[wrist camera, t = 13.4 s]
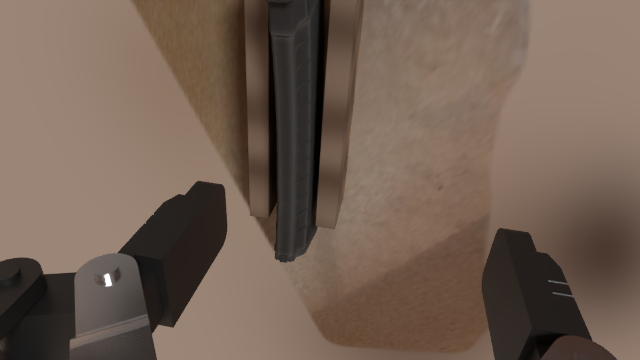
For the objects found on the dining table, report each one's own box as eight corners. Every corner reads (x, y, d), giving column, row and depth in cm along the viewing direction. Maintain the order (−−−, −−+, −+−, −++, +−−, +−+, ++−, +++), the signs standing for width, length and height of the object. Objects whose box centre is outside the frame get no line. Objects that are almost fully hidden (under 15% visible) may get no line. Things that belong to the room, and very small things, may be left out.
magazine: (302, 292, 45) (273, 17, 23) (272, 287, 46) (215, 13, 24) (330, 175, 57) (328, -83, 35) (306, 172, 57) (288, -84, 35)
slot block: (269, -45, 39) (243, -41, 33) (368, -37, 38) (359, -31, 32) (269, 182, 51) (250, 215, 45) (344, 193, 50) (334, 229, 44)
